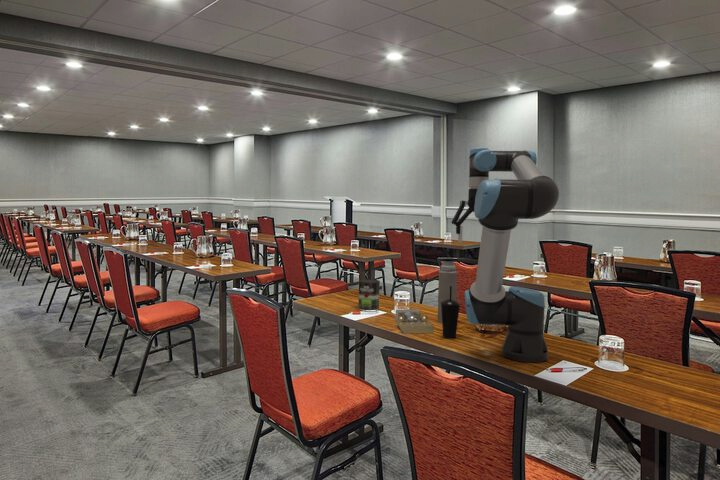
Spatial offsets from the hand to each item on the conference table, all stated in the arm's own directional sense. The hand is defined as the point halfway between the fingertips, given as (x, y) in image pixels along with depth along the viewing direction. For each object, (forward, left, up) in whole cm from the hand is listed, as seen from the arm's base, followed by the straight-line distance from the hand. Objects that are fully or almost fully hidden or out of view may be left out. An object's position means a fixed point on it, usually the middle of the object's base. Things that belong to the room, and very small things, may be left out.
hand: (476, 242), depth 194 cm
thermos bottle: (+21, +5, -37) cm, 43 cm away
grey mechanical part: (+19, +22, -37) cm, 47 cm away
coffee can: (+48, +36, -37) cm, 70 cm away
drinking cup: (-3, +11, -37) cm, 39 cm away
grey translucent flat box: (+9, +22, -37) cm, 44 cm away
